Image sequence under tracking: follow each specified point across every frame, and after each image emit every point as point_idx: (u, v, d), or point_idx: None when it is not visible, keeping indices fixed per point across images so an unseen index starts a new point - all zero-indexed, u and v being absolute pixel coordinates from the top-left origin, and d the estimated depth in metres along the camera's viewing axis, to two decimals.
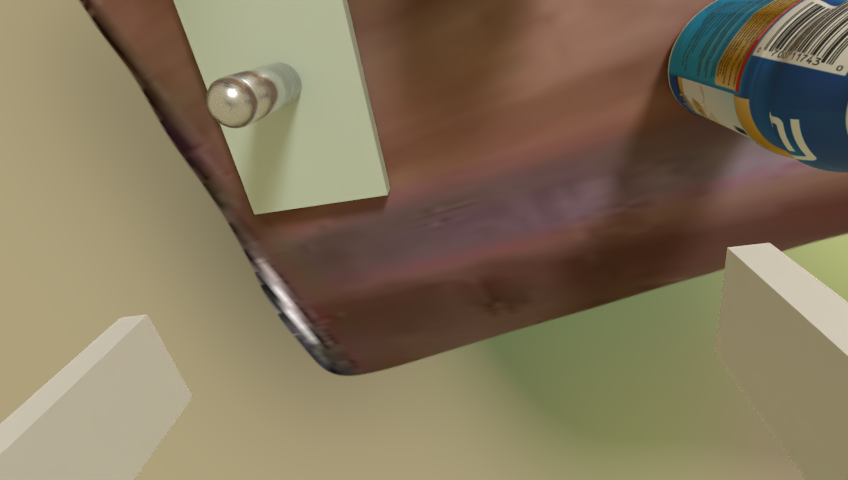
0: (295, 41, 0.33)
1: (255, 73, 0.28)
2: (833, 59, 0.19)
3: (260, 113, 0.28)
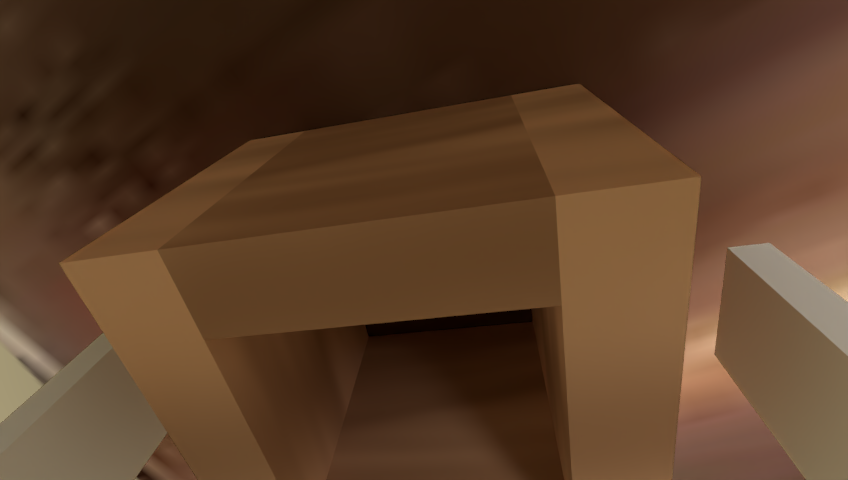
0: None
1: None
2: None
3: None
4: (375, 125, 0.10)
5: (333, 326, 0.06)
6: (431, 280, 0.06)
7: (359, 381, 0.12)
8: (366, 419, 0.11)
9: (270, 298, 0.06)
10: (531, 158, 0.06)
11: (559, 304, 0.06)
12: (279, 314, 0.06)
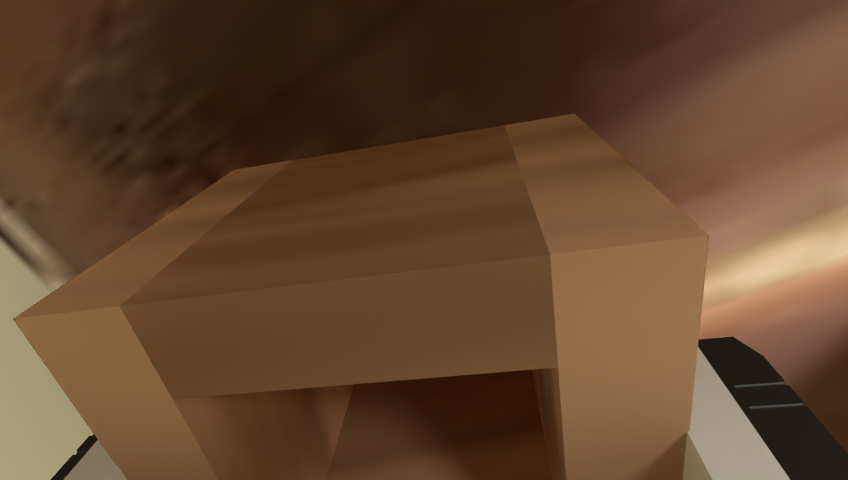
0: None
1: None
2: None
3: None
4: (363, 156, 0.10)
5: (311, 386, 0.06)
6: (416, 340, 0.05)
7: (348, 419, 0.12)
8: (354, 462, 0.11)
9: (243, 357, 0.06)
10: (524, 204, 0.06)
11: (555, 365, 0.05)
12: (253, 373, 0.06)
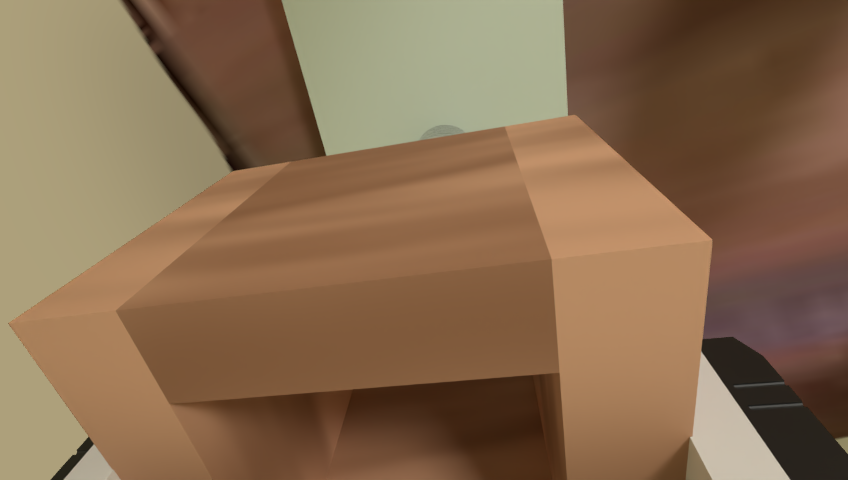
0: (476, 94, 0.21)
1: None
2: None
3: None
4: (363, 158, 0.10)
5: (310, 391, 0.06)
6: (416, 345, 0.05)
7: (347, 422, 0.12)
8: (353, 465, 0.10)
9: (240, 362, 0.06)
10: (525, 207, 0.06)
11: (557, 371, 0.05)
12: (251, 378, 0.06)
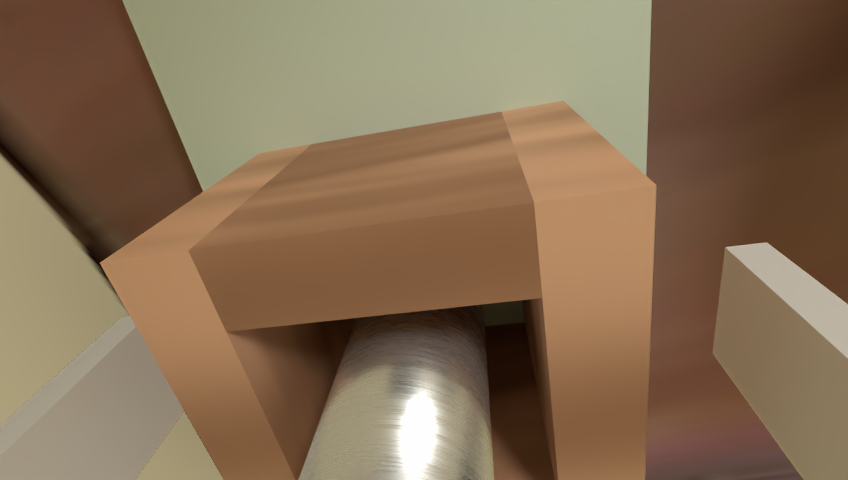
0: None
1: (440, 360, 0.08)
2: None
3: None
4: (377, 139, 0.11)
5: (342, 318, 0.07)
6: (428, 276, 0.07)
7: None
8: None
9: (286, 293, 0.07)
10: (516, 169, 0.07)
11: (540, 297, 0.07)
12: (294, 307, 0.07)
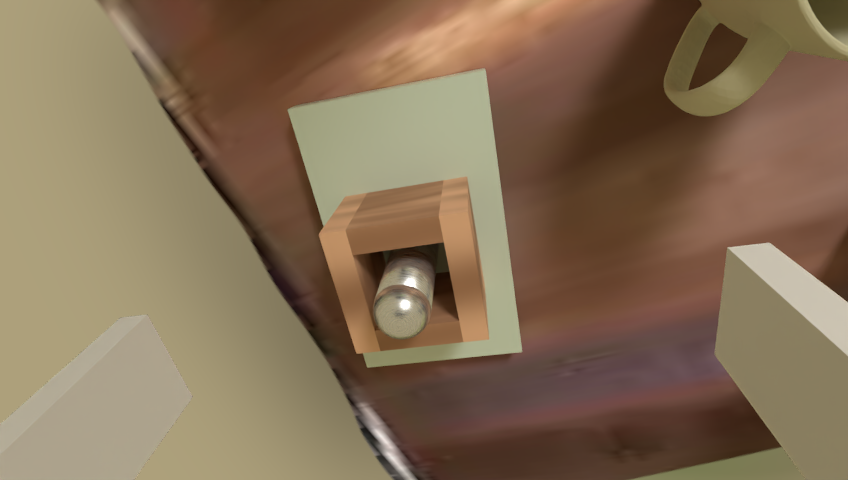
0: None
1: (417, 265, 0.25)
2: None
3: None
4: (394, 191, 0.28)
5: None
6: (412, 236, 0.24)
7: None
8: None
9: (372, 242, 0.24)
10: (438, 206, 0.24)
11: None
12: (374, 246, 0.24)
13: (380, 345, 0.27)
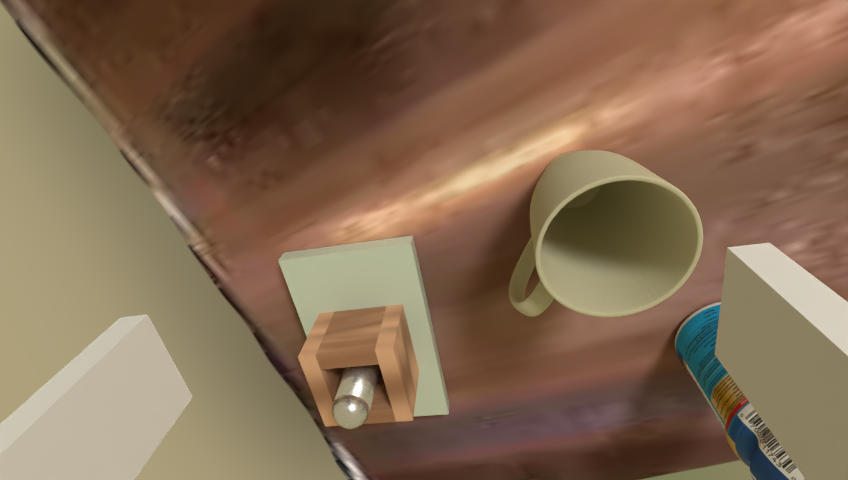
0: None
1: (363, 375, 0.37)
2: (789, 470, 0.28)
3: None
4: (352, 314, 0.41)
5: (343, 367, 0.37)
6: (358, 360, 0.36)
7: None
8: None
9: (332, 362, 0.37)
10: (376, 338, 0.37)
11: None
12: (334, 365, 0.37)
13: None
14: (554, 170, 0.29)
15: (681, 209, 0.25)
